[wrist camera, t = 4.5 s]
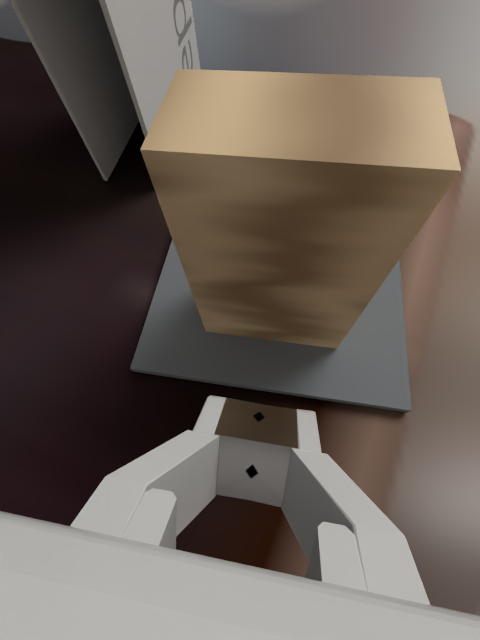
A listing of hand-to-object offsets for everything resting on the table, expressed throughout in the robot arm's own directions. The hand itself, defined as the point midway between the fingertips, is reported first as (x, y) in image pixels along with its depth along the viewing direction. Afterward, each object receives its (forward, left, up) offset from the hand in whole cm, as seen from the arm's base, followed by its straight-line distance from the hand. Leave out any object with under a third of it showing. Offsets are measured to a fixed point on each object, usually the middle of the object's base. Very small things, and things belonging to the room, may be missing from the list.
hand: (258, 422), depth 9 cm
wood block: (0, +8, -8) cm, 11 cm away
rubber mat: (0, +14, -9) cm, 16 cm away
